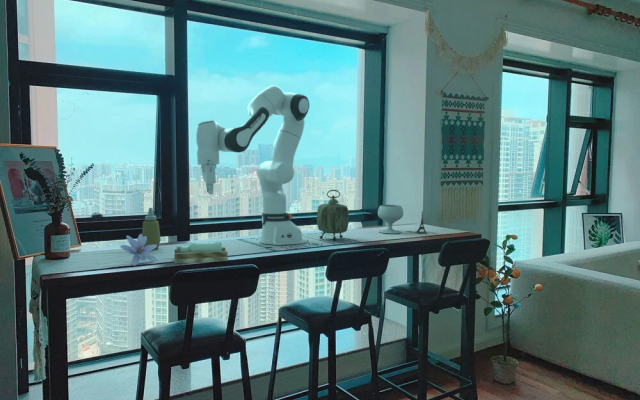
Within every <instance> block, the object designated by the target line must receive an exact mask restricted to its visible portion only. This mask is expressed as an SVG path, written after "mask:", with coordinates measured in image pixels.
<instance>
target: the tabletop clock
mask: <svg viewBox="0 0 640 400" xmlns="http://www.w3.org/2000/svg"><path fill="white" fill-rule="evenodd" d="M331 192H337V193H338V195H337V196H335V195H334V194H333V195H332V196H329V193H331ZM326 196H327V197H328V198H330V199H329V200H328V202H327V203H322V204H320V205H318V208H317V212H316V224H317V225H316V226H317V229H318V231H320V232H322V234H321V235H320V236H319V239H320V240H323V238H324V235H326V234H333V237H332V240H333V241H336V240H337V237H336V234H339V239H343V235H342V233H345V232H347V231H348V228H349V223H350V222H349V221H350V215H349V213H350V212H349V209H348V206H347V205H343V204H341V203H339V200H338V199H337V198H339V197H340V196H341V193H340V191H339V190H338V189H329V190H328V191H327V193H326Z"/></svg>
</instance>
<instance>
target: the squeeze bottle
mask: <svg viewBox="0 0 640 400" xmlns="http://www.w3.org/2000/svg"><path fill="white" fill-rule="evenodd" d="M153 210H154V209H153V207H148V212H147V215H146V216H144V221H142V230H141V231H142V232H141V234H142V236H143V237H145V236H146V237H147V241H146V243H145V246H147V245H153V244H155V245H157V247H156V248H154V249H153V250H156V249H159V246H160V243H161V241H162V238H161V233H160V224H159V222H160V221H158V220H157V215H154V211H153ZM145 246H144V247H145ZM144 247H143V248H144Z"/></svg>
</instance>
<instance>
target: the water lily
mask: <svg viewBox="0 0 640 400" xmlns="http://www.w3.org/2000/svg"><path fill="white" fill-rule="evenodd" d="M126 240H127V242H128V243H129V245H127V244H126V245H125V244H122V245H119V248H121V250H123V251H125V252H126V253H127V254H129V255H133V256H132V259H131V261H132V262H131V263H132V265H133V266H137V265H138V264H139V262H140V261H142V262H143V263H146V262H147V260H149V261H152V262H158V259H157V258H156V256H154V255H152V254H151V253H150V251H153V250H155V249H154V248H156V247H157V245H155V244H153V245H147V246H145V243H146V241H147V237H146V236H145V237H143V236H142V233H140V234H138V236H137V240H136V239H134V238H133V237H131V236H130V235H126ZM144 246H145V247H144Z"/></svg>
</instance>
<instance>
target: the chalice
mask: <svg viewBox="0 0 640 400" xmlns="http://www.w3.org/2000/svg"><path fill="white" fill-rule="evenodd" d="M377 215H378V218H379V219H381V220H382V221H384V222H385V223H386V224H387V226H388V228H386V229H381V230H379V232H378V233H382V234H385V235H386V234H390V235H391V234H392V235H393V234H394V235H395V234H401V233H402V231H400V230H398V229H397V230H396V229H393V225H394V224H395V223H396V222H398V221H400V220H401V219H402V218H403V216H404V208H403V206H402V205H401V204H380V205H379V207H378V209H377Z"/></svg>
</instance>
